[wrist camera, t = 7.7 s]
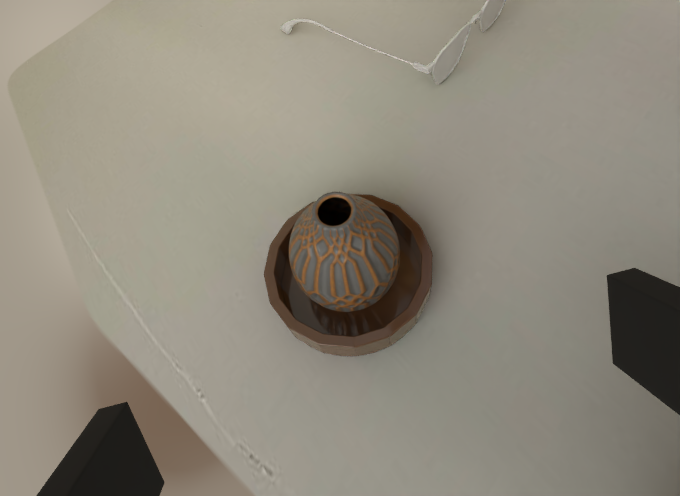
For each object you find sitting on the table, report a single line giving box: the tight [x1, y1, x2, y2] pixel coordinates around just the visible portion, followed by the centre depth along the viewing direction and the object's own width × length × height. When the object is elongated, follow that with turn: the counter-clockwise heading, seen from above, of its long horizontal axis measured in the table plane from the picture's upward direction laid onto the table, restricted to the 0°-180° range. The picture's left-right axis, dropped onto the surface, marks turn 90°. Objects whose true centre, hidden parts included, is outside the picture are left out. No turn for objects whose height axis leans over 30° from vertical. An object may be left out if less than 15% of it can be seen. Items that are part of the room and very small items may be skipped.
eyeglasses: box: [280, 0, 506, 84], centre depth 41 cm, size 15×18×4 cm
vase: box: [289, 192, 400, 312], centre depth 26 cm, size 7×7×9 cm
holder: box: [264, 194, 433, 356], centre depth 29 cm, size 11×11×2 cm
